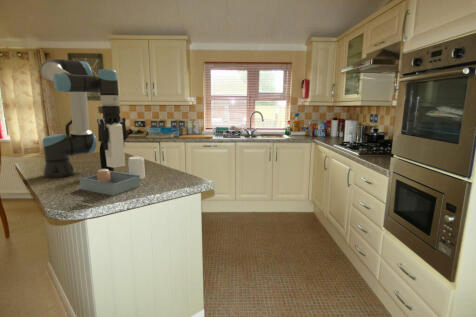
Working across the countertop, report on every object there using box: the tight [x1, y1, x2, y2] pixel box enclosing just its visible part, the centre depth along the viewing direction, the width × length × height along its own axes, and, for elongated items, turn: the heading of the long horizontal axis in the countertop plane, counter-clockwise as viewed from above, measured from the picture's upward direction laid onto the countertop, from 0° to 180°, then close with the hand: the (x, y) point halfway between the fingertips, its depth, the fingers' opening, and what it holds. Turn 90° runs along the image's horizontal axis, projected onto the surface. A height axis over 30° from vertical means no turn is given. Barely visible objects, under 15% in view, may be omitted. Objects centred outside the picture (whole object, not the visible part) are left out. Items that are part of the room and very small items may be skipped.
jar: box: [96, 168, 111, 183], centre depth 135 cm, size 6×6×8 cm
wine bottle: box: [99, 123, 115, 172], centre depth 156 cm, size 6×6×30 cm
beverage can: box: [127, 155, 146, 180], centre depth 149 cm, size 8×8×12 cm
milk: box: [104, 122, 126, 169], centre depth 126 cm, size 6×6×22 cm
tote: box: [78, 170, 141, 197], centre depth 132 cm, size 22×16×6 cm
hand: (115, 155), depth 127 cm, fingers closed on milk, 7 cm apart
